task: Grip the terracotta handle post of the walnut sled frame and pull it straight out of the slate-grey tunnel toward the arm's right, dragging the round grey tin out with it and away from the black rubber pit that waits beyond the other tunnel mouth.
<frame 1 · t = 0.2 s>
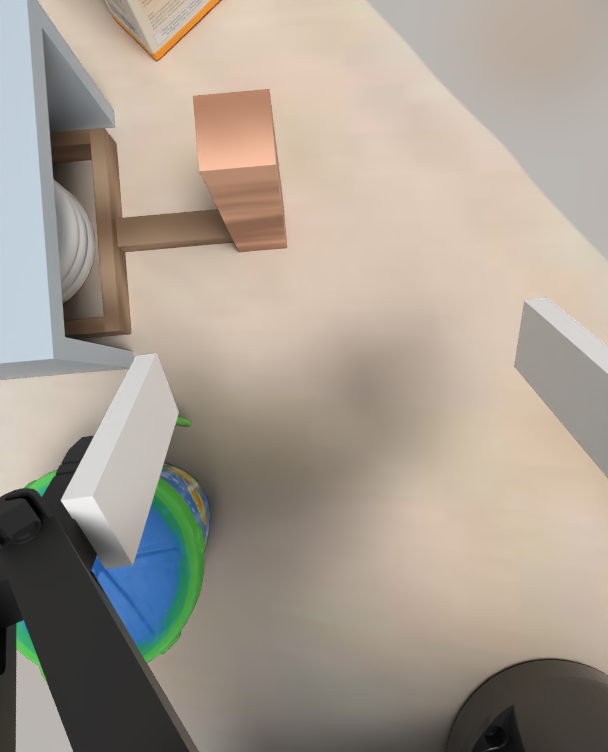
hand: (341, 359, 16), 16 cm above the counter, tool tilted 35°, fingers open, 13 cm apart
round grey tin: (31, 249, 33), resting in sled
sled: (63, 205, 26), point 6 cm above the counter, slide at 0.0 cm
tunnel: (27, 247, 32), on the counter
snack cup: (160, 512, 32), on the counter
supplement box: (174, 7, 33), on the counter
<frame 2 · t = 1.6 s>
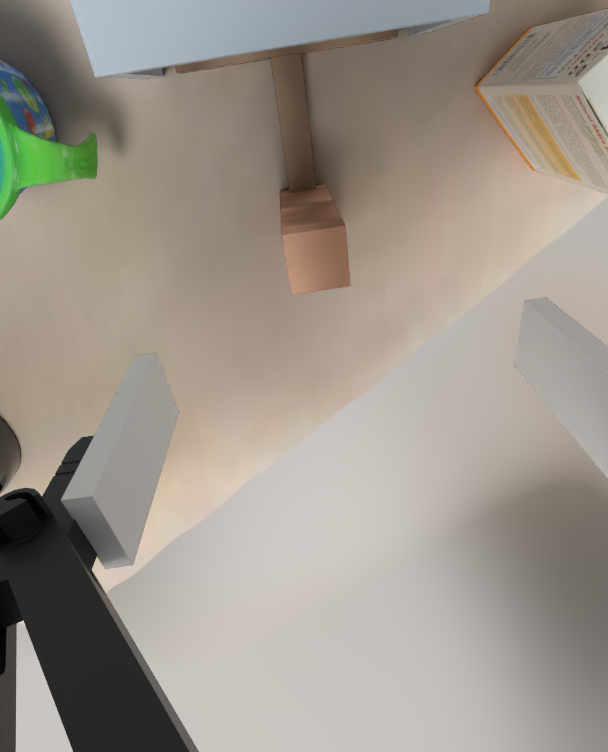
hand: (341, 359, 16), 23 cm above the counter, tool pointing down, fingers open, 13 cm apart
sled: (284, 25, 24), point 6 cm above the counter, slide at 0.0 cm
snack cup: (3, 120, 31), on the counter
supplement box: (529, 103, 32), on the counter
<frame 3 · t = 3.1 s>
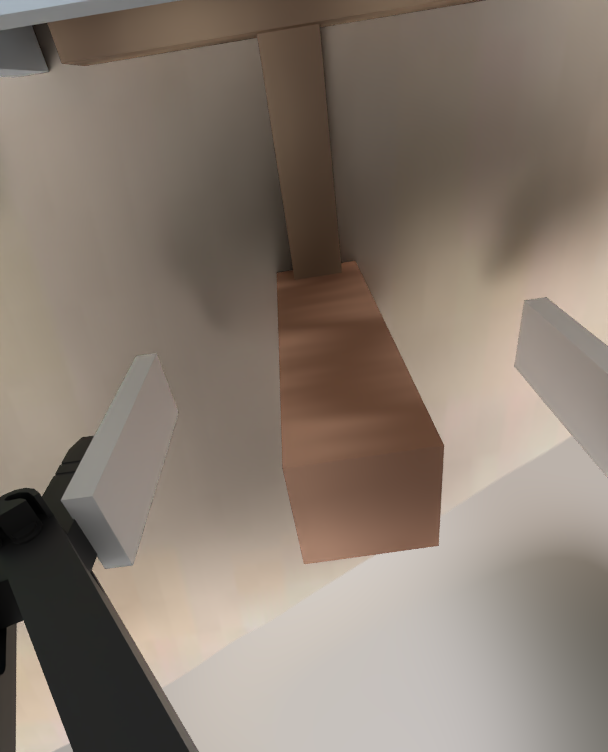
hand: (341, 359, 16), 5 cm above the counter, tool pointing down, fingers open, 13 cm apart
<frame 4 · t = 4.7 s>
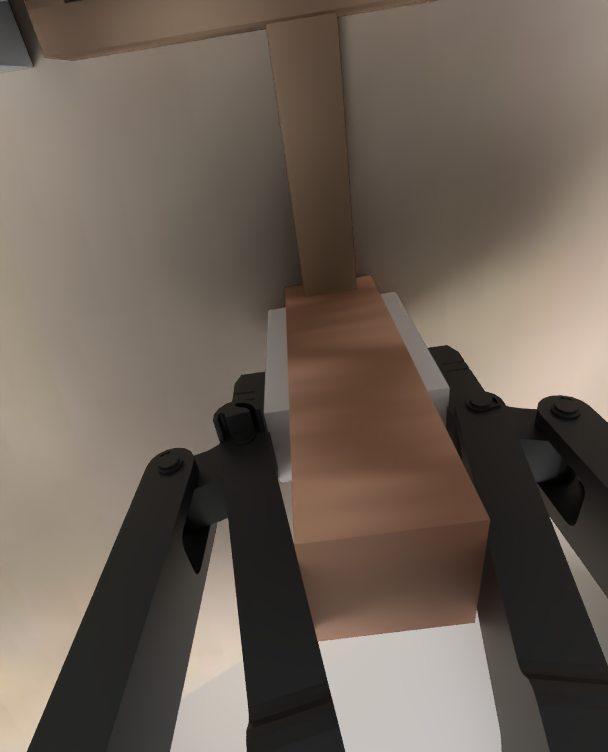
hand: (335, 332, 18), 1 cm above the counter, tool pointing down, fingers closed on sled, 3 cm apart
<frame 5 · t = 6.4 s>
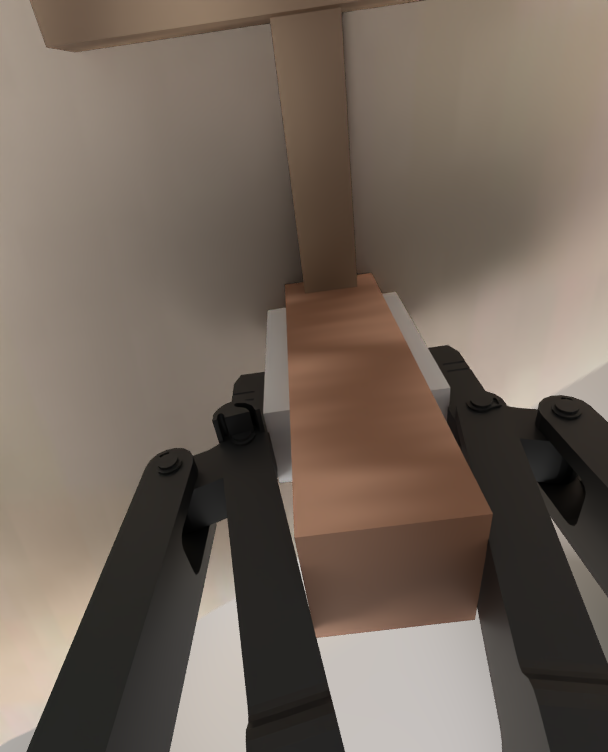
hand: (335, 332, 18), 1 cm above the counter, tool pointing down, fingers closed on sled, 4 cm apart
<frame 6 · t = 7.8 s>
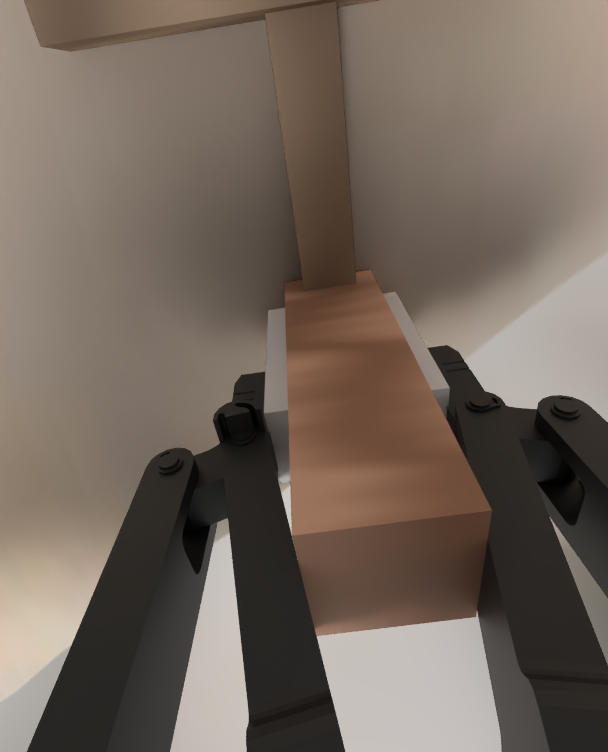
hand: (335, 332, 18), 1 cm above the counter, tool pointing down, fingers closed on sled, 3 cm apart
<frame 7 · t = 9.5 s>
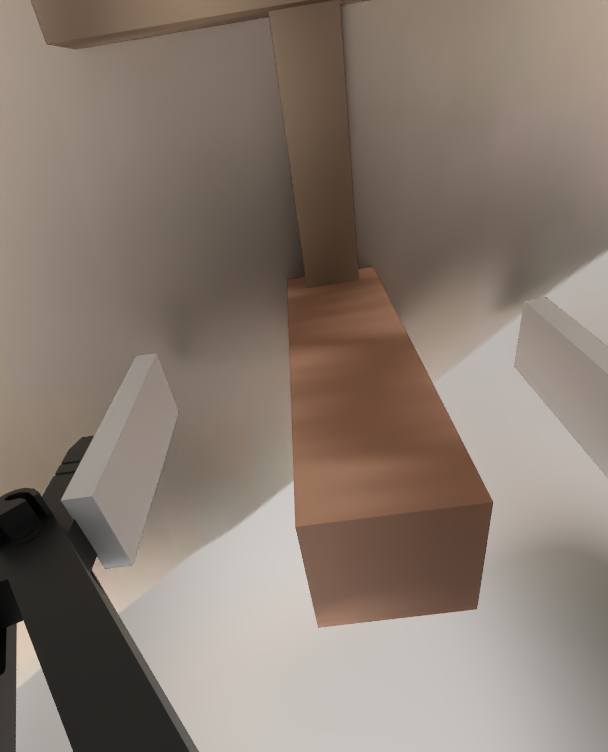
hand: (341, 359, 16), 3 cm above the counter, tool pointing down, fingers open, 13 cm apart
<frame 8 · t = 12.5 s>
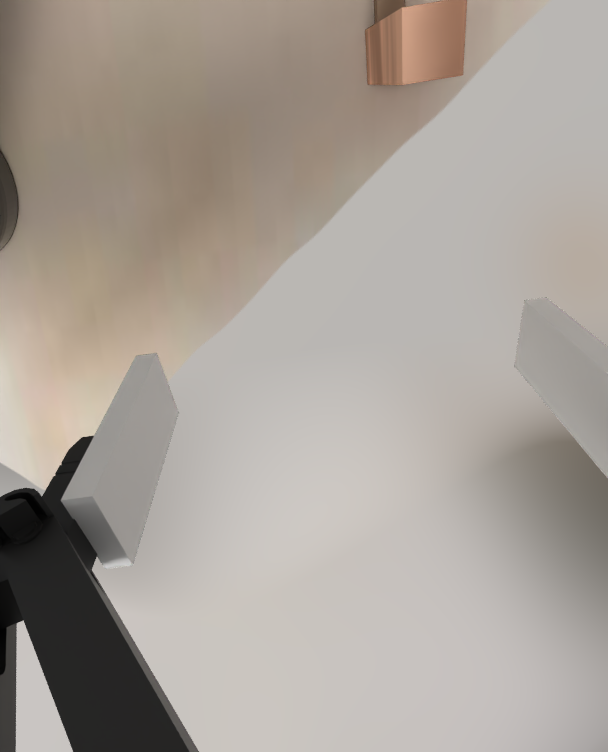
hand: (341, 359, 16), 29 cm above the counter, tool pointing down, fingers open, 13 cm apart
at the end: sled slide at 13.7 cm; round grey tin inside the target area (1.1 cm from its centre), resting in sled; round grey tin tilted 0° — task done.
